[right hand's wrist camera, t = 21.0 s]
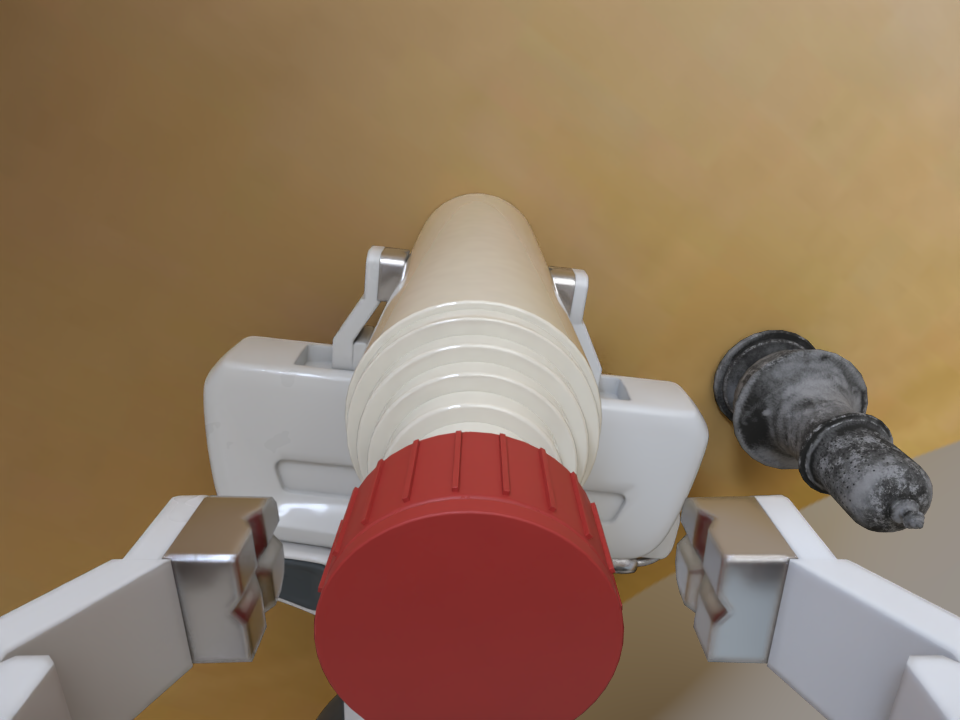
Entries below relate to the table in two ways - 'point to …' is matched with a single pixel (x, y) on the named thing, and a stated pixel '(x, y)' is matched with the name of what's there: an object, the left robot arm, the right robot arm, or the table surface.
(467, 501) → the cap
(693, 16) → the table surface
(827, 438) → the grey stepped cylinder
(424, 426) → the bottle
